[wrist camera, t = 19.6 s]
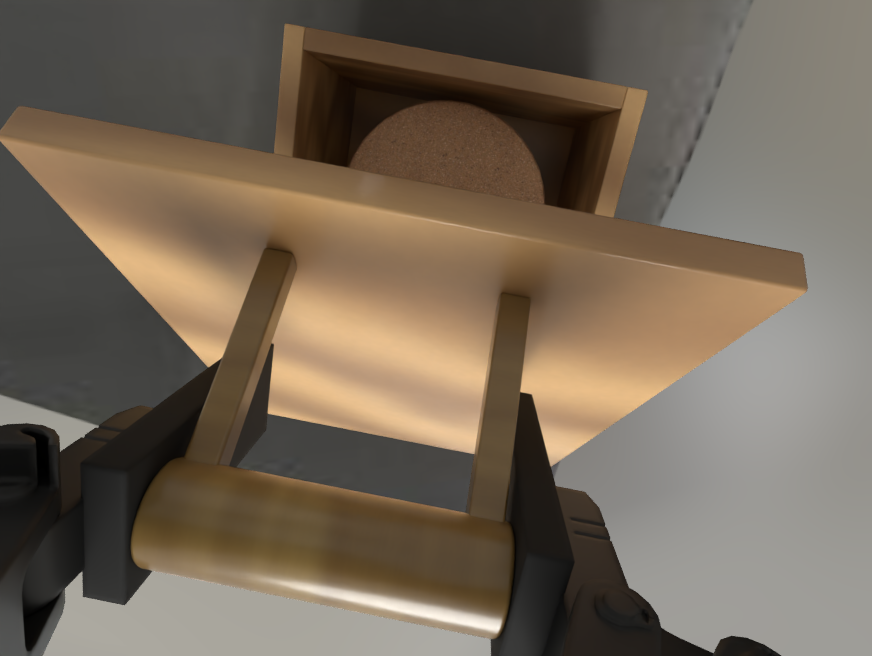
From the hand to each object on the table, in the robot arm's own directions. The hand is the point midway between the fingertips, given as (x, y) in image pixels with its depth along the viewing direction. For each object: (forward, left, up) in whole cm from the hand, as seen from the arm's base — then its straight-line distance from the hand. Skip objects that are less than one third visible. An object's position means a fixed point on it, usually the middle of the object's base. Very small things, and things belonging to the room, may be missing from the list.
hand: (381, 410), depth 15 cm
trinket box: (-5, 0, -23) cm, 23 cm away
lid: (0, 0, -4) cm, 4 cm away
